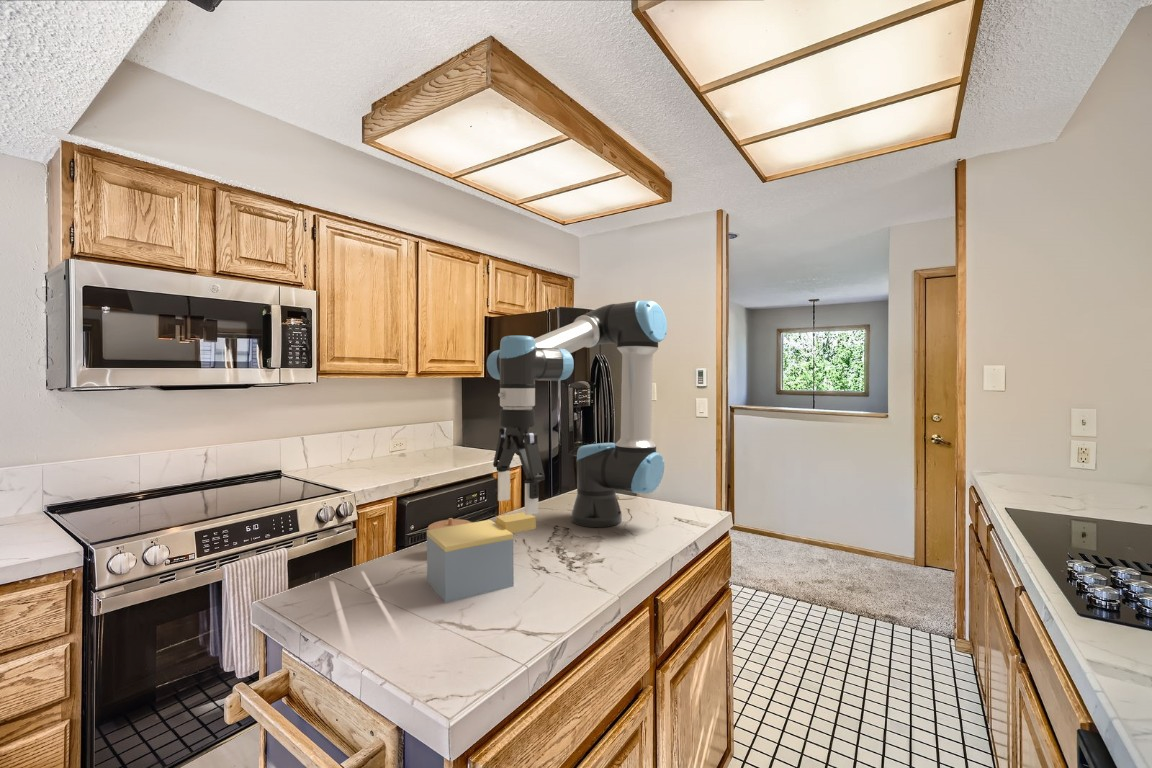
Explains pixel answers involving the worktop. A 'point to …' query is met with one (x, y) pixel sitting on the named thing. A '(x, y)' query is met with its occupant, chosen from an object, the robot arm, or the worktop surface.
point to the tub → (470, 569)
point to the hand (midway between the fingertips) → (517, 506)
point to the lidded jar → (447, 523)
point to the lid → (481, 531)
